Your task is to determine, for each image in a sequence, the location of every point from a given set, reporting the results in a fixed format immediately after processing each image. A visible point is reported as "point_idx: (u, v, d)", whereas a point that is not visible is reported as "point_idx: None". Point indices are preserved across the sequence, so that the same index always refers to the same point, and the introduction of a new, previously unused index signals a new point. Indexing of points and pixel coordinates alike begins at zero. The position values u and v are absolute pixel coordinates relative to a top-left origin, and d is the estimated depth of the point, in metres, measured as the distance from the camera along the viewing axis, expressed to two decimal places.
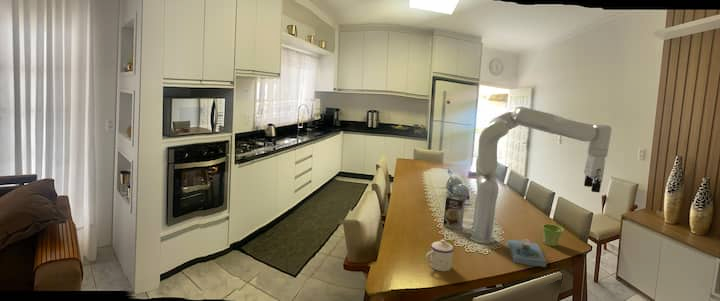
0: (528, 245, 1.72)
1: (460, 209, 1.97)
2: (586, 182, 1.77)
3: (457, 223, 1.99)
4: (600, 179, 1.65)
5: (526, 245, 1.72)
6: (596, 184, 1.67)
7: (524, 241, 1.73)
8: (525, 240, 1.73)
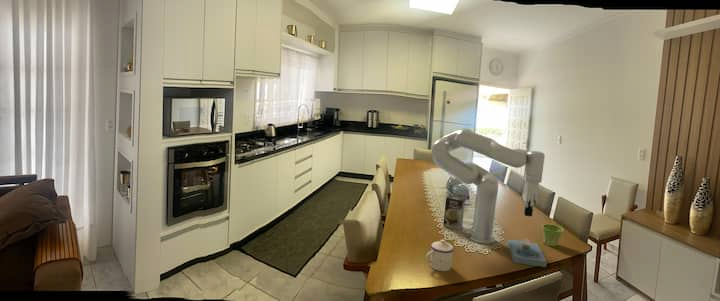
0: (528, 245, 1.72)
1: (460, 209, 1.97)
2: None
3: (457, 223, 1.99)
4: (531, 206, 1.75)
5: (526, 245, 1.72)
6: (528, 209, 1.77)
7: (524, 241, 1.73)
8: (525, 240, 1.73)
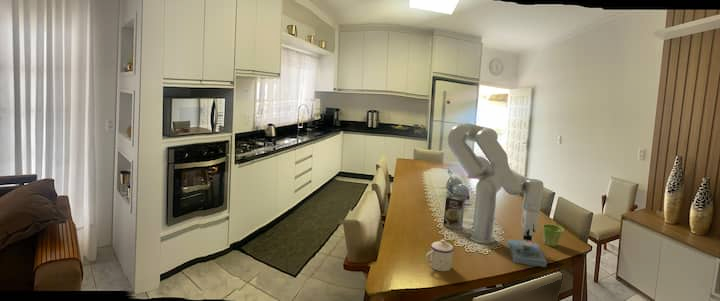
0: (528, 247, 1.71)
1: (460, 209, 1.97)
2: (525, 239, 1.77)
3: (457, 223, 1.99)
4: None
5: (526, 247, 1.72)
6: (527, 237, 1.75)
7: (524, 243, 1.72)
8: (526, 242, 1.72)
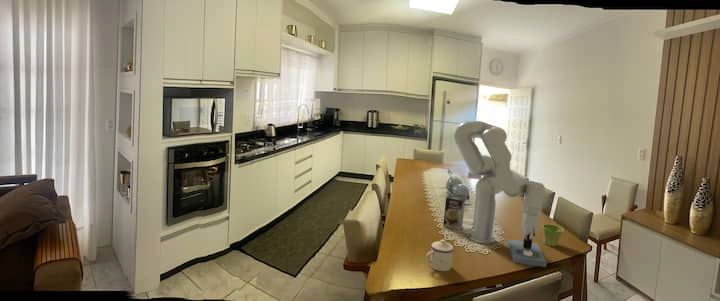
0: None
1: (460, 209, 1.97)
2: None
3: (457, 223, 1.99)
4: None
5: None
6: (527, 241, 1.71)
7: None
8: None
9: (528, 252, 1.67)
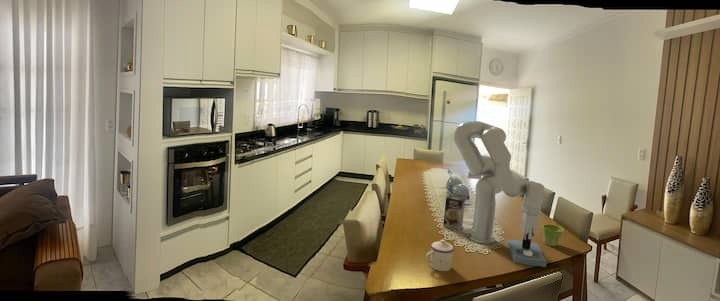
0: None
1: (460, 209, 1.97)
2: None
3: (457, 223, 1.99)
4: None
5: None
6: (526, 241, 1.72)
7: None
8: None
9: (528, 252, 1.67)
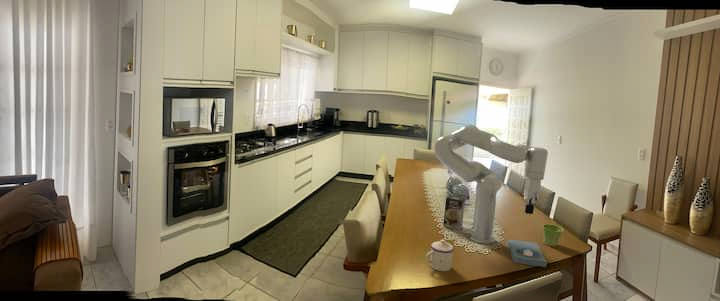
0: None
1: (460, 209, 1.97)
2: None
3: (457, 223, 1.99)
4: (532, 203, 1.71)
5: None
6: (529, 206, 1.73)
7: None
8: None
9: (528, 252, 1.67)
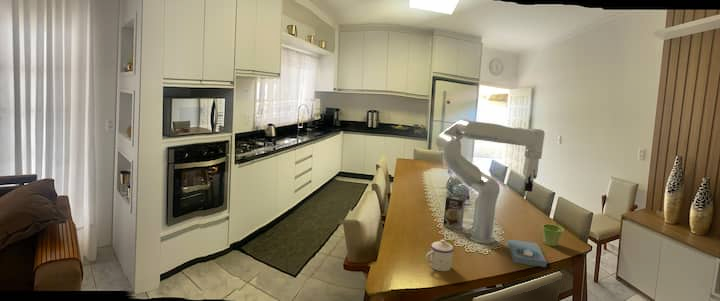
0: None
1: (460, 209, 1.97)
2: None
3: (457, 223, 1.99)
4: (531, 181, 1.83)
5: None
6: (528, 184, 1.86)
7: None
8: None
9: (528, 252, 1.67)
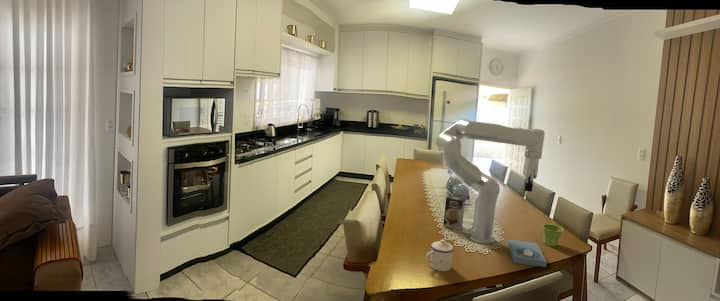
0: None
1: (460, 209, 1.97)
2: None
3: (457, 223, 1.99)
4: (531, 181, 1.83)
5: None
6: (528, 184, 1.86)
7: None
8: None
9: (528, 251, 1.67)
